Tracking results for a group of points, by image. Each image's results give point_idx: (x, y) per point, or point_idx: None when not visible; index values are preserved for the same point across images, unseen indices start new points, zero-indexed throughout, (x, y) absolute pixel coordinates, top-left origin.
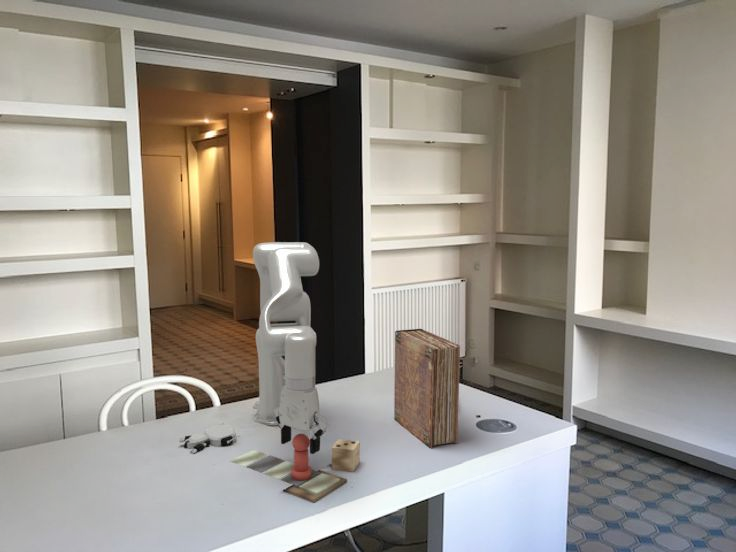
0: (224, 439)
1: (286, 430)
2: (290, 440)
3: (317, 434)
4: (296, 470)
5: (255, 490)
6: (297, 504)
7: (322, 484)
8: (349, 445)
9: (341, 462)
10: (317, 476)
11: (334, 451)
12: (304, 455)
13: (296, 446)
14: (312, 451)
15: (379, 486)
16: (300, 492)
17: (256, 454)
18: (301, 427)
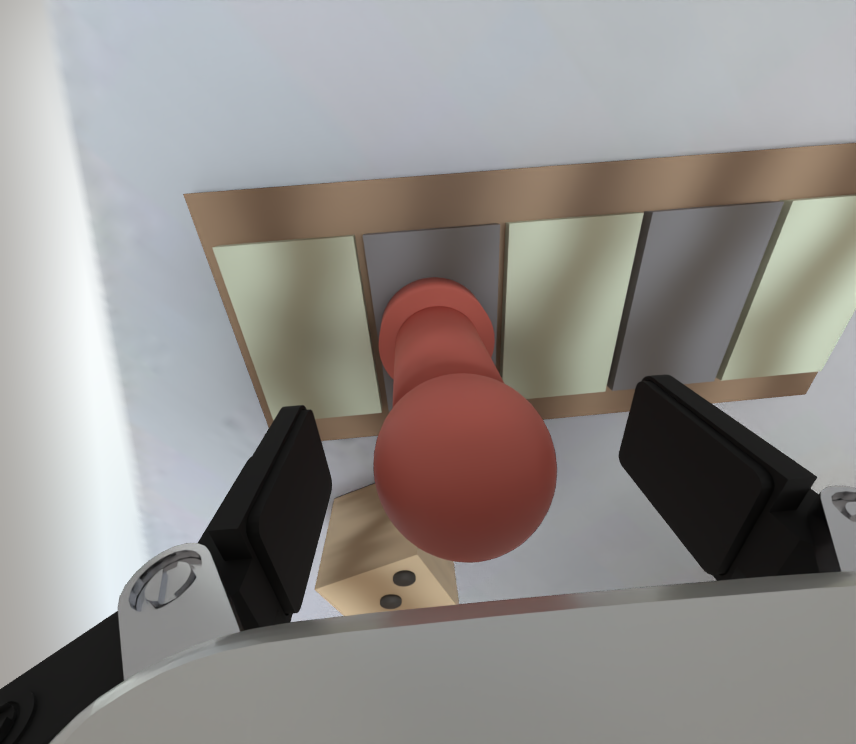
0: None
1: (722, 507)
2: (620, 455)
3: (94, 654)
4: (436, 308)
5: (573, 53)
6: (237, 107)
7: (282, 337)
8: (368, 602)
9: (375, 509)
10: (370, 378)
11: (403, 540)
12: (395, 388)
13: (443, 384)
14: (277, 425)
15: (167, 485)
16: (311, 207)
17: (785, 346)
18: (256, 735)
